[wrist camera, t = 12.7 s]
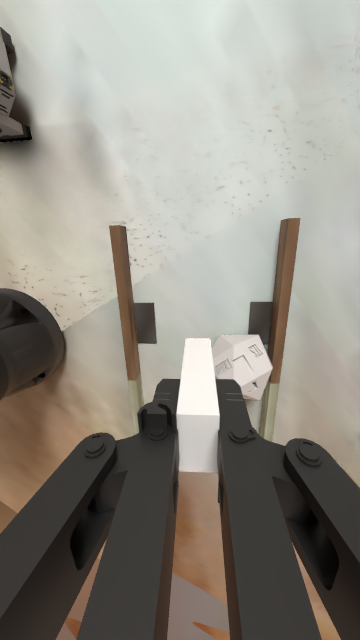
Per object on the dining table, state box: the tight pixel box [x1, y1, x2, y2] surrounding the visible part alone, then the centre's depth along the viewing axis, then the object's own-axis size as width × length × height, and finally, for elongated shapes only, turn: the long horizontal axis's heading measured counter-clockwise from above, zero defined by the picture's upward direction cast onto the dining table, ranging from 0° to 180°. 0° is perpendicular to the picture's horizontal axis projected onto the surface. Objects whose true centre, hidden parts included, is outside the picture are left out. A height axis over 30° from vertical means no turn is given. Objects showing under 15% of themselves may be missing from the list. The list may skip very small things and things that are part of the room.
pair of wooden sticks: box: [109, 218, 300, 442], centre depth 33 cm, size 21×34×2 cm, turn 2°
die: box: [212, 335, 273, 400], centre depth 31 cm, size 8×9×10 cm
